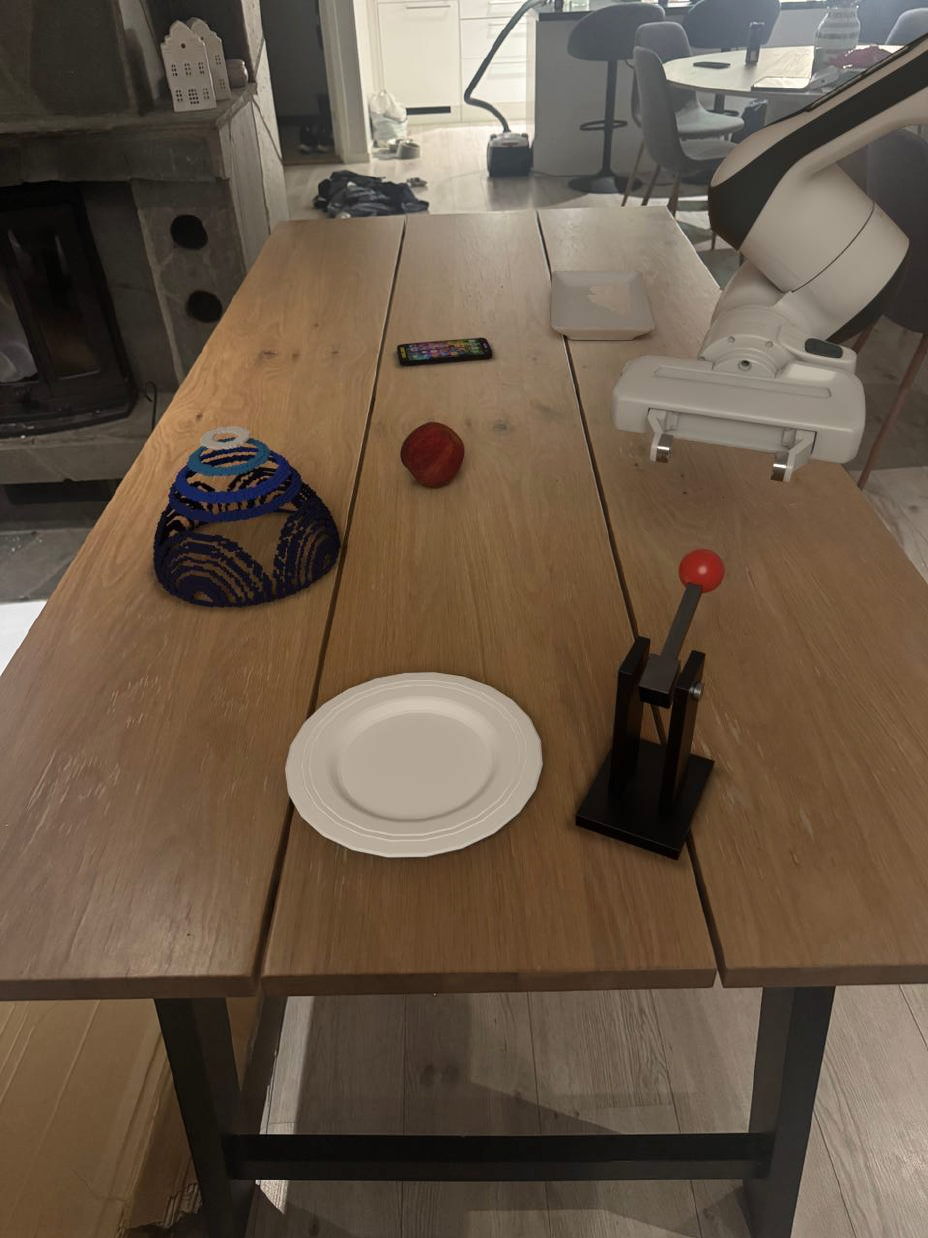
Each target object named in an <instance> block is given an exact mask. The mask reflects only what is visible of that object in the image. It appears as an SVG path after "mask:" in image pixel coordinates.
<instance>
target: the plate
mask: <svg viewBox="0 0 928 1238" xmlns="http://www.w3.org/2000/svg"><path fill="white" fill-rule="evenodd" d="M542 750H543V749H542V741H541V738H540V736H539V734H538V732H537V730H536V727H535V725H534V723H533V721H532V718H530V717H529V715H528V714H527V713H526V712H525V711H524V710H523V709H522V708H521V707H520V705H518V704H517V703H516V701H515V700H513V699H511V698H510V697H509V696H507V695H505V694H504V693H502V692H500V691H499V690H497V689H496V688H495V687H493V686H491V685H488V684H485V683H483V682H480V681H478V680H475V679H471V678H468V677H466V676H460V675H454V674H448V673H441V672H433V671H432V672H403V673H398V674H391V675H388V676H382V677H377V678H373V679H371V680H369V681H366V682H363V683H361V684H358V685H355V686H352V687H350V688H348V689H346V690H344V691H342V692H341V693H339V694H338V695H336V696H334V697H332V698H331V699H329V700H328V701H326V702H325V703H323V704H322V705H321V706H319V707H318V709H317V710H315V712H313V714H311V715H310V716H309V717H308V718H307V719H306V720H305V721H304V722H303V723H302V725H301V727H300V728H299V730H298V732H297V734H296V735H295V737H294V739H293V740H292V742H291V743H290V745H289V750H288V754H287V758H286V763H285V766H284V772H285V779H286V786H287V787H286V788H287V793H288V796H289V798H290V800H291V802H292V803H293V805H294V807H295V808H296V810H297V812H298V814H299V816H300V818H301V819H302V820H303V821H304V822H306V824H308V825H309V826H310V827H311V828H312V829H314V830H315V831H316V833H318V835H321V837H322V838H324V839H326V840H328V841H331V842H332V843H334V844H337V845H338V846H340V847H342V848H345V849H347V850H348V851H351V852H353V853H358V854H362V855H363V854H364V855H369V856H372V857H373V856H374V857H378V858H384V859H388V860H389V859H390V860H391V859H395V860H396V859H427V858H432V857H437V856H440V855H445V854H451V853H454V852H459V851H462V850H465V849H466V848H469V847H471V846H474V845H475V844H478V843H480V842H481V841H484V840H485V839H488V838H490V837H493V836H494V835H495V834H497V833H498V832H499V831H500V830H501V829H503V828H504V827H505V826H507V825H508V824H509V823H510V822H511V821H513V820H514V819H515V818H516V817H518V816H519V815H520V814H521V812H522V811H523V809H524V808H525V806H526V805H527V804H528V803H529V801H530V800H531V798H532V797H533V795H534V794H535V792H536V791H537V786H538V784H539V780H540V777H541V773H542V769H543V766H544V765H543V752H542Z"/></svg>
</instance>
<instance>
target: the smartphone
mask: <svg viewBox="0 0 928 1238" xmlns="http://www.w3.org/2000/svg"><path fill="white" fill-rule="evenodd" d="M396 351H397V352H396V355H397V358H398V362H399V365H400V366H416V365H429V364H443V363H453V362H455V363H456V362H464V361H465V362H467V361H477V360H488V359H491V358H493V350H492V347H491V346H490V343H489V341H488V339H487V338H486V337H472V338H459V339H446V340H445V339H444V340H434V341H433V340H432V341H423V342H421V341H420V342H409V343H402V344H398V345H397V346H396Z"/></svg>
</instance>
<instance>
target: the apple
mask: <svg viewBox="0 0 928 1238" xmlns="http://www.w3.org/2000/svg"><path fill="white" fill-rule="evenodd" d="M465 452H466V450H465V444H464V441H463V439H462V438H461V437H460V435H458V433H456V432H455V430H454V429H453V428H451V427H450V426H448V425H447V424H444V423H442V422H437V421H431V422H426V423H423V424H421V425H418V427H416V428H414V429H413V430H412V431H411V432H410V433H409V434H408V436H407V437H406V438H405V439H404V440H403V442H402V445H401V448H400V452H399V457H400V461H401V463H402V465H403V466H404V467H405V469H407V470H408V472H409V473H410V474H411V476H412V477H413V478H414V479H415V480H416V481H417V482H418V483H419V484H421V485H423V486H425V487H428V488H440V487H443V486H446V485H447V484H449V483H450V482H451V481H452V480H453V479H454V478H455V477H456V475H457V474H458V473H459V470H461V466H462V464H463V461H464V458H465Z"/></svg>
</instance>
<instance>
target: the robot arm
mask: <svg viewBox="0 0 928 1238" xmlns="http://www.w3.org/2000/svg"><path fill="white" fill-rule="evenodd" d="M911 126H912V127H914V126H925V127H926V126H927V127H928V31H927V32H926V33H924V34H922V35H921V36H919V37H917V38H915V39H914V40H912V41H910V42H909V43H907V44H905V45H903V46H902V47H900V48H899V49H897V50H895V51H894V52H892V53H890V54H889V55H887V56H886V57H884V58H883V59H881V60H879V61H878V62H876V63H875V64H873V65H870V67H868V68H866V69H865V70H863V71H861V72H859V73H857V75H855V76H853V77H852V78H850V79H848V80H846V81H845V82H844V83H842V84H840V85H839V86H837V87H836V88H834V89H832V90H831V91H829V92H827V93H825V94H824V95H821V97H819V98H817V99H816V100H814V101H812V102H810V103H809V104H808V105H806V106H804V107H802V108H800V109H799V110H796V111H795V112H792V113H790V114H788V115H785V116H783V117H781V118H779V119H776V120H774V121H771V122H769V123H768V124H766V125H765V126H763V127H761V128H760V129H759V130H757V131H755V132H753V133H751V134H750V135H748V136H747V137H746V138H744V139H742V140H741V141H740V142H739V143H738V144H737V145H735V147H734V148H733V149H731V150H730V152H729V153H728V154H727V155H726V156H725V157H724V159H723V160H722V161H721V163H720V164H719V166H718V167H717V169H716V170H715V172H714V174H713V175H712V177H711V178H710V180H709V182H708V185H707V214H708V215H707V216H708V221H709V227H710V231H711V232H713V234H715V235H716V236H717V237H719V238H720V239H722V240H723V241H724V242H725V243H727V244H728V245H729V246H730V247H731V248H733V249H734V250H735V251H737V252H738V251H739V252H740V253H741V254H742V255H743V256H744V257H745V258H746V260H745V261H744V262H743V263H742V264H741V265H740V266H739V267H738V268H737V270H735V272H734V273H733V274H732V276H731V277H730V279H729V280H728V282H727V283H726V285H724V288H723V290H722V292H721V294H720V296H719V298H718V300H717V302H716V304H715V306H714V310H713V311H712V315H711V319H710V325H709V328H708V329H707V331H706V333H705V335H704V337H703V340H702V343H701V346H700V349H699V351H698V354H697V357H696V359H693V358H685V357H678V356H669V355H662V354H646V355H642V356H639V357H637V358H635V359H629V360H628V361H627V362H626V363H625V364H624V367H623V369H622V371H621V372H620V373H621V374H620V377H619V378H618V380H617V382H616V384H615V385H614V387H613V389H612V392H611V397H610V406H609V407H610V408H609V419H610V423H611V424H612V426H613V427H614V428H615V429H616V430H617V431H620V432H626V433H632V434H639V435H640V434H641V435H645V436H644V437H645V440H646V442H647V444H648V445H649V446H650V453H649V462H654V463H661V464H669V461H670V459H671V455H672V452H673V443H674V440H678V441H679V440H681V441H687V442H693V443H699V444H707V445H714V446H720V447H724V448H725V447H726V448H732V449H740V450H746V451H747V450H748V451H752V452H760V453H767V454H772V455H774V456H775V457H774V460H773V465H772V469H771V475H770V479H769V480H770V481H775V482H781V483H785V484H790V482H791V477H792V475H793V474H792V473H794V472H796V471H797V470H799V469H801V468H802V467H803V466H806V465H807V464H808V463H809V460H813V461H819V462H825V463H832V464H839V465H844V464H846V463H848V462H851V461H852V460H854V459H855V458H856V457H857V454H858V452H859V449H860V446H861V442H862V439H863V435H864V431H865V427H866V417H867V415H866V414H867V412H866V411H867V409H866V408H867V407H866V396H865V389H864V385H863V383H862V381H861V380H860V378H859V377H858V376H857V375H856V368H857V359H858V355H857V353H856V352H855V350H853V349H851V348H849V347H846V346H843V345H839V344H842V343H845V342H846V341H848V340H850V339H852V338H854V337H855V336H857V335H859V334H860V333H862V332H863V331H865V330H866V329H867V328H869V327H870V326H871V325H872V324H874V323H875V322H876V321H877V320H878V319H880V317H881V316H883V314H884V313H886V311H887V310H888V309H889V308H890V307H891V305H892V304H893V302H894V301H895V300H896V298H897V296H898V295H899V293H900V291H901V289H902V287H903V285H904V283H905V280H906V276H907V273H908V269H909V266H910V263H911V262H910V261H911V255H912V244H911V243H912V242H911V238H909V237H908V236H907V235H906V234H905V232H904V231H903V230H902V229H901V228H900V227H899V226H898V225H897V224H896V223H895V221H894V220H893V219H892V218H891V217H890V216H889V215H888V214H887V213H886V211H884V210H883V209H882V207H880V206H879V205H878V204H877V203H876V202H875V201H874V199H873V200H872V199H871V198H870V197H869V196H868V195H867V194H866V193H865V192H864V191H863V190H862V188H861V187H859V185H857V183H855V181H854V180H853V179H852V178H851V177H850V176H849V175H848V173H846V172H845V171H844V170H843V169H842V168H841V167H840V165H838V163H837V162H838V161H840V160H842V159H844V158H846V157H847V156H849V155H852V154H853V153H855V152H857V151H859V150H860V149H862V148H864V147H867V146H868V145H870V144H871V143H873V142H875V141H877V140H879V139H881V138H883V137H885V136H887V135H889V134H890V133H892V132H894V131H897V130H899V129H902V128H906V127H911Z"/></svg>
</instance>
